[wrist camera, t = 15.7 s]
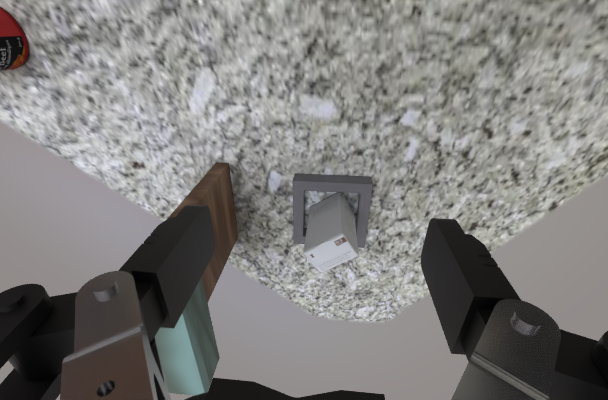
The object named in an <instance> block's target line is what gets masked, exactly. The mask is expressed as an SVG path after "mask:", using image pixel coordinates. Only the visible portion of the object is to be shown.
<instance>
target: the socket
mask: <svg viewBox="0 0 608 400" xmlns="http://www.w3.org/2000/svg"><path fill="white" fill-rule="evenodd" d="M372 186H373V184H372V179H371V177H361V176H339V175H316V174H295V175H294V179H293V216H294V243H296V244H305V238H306V231H307V228H304V208H305V190H306V191H327V192H348V193H359V198H358V208H357V217H356V226H355V227H356V235H357V244H358V247H361V248H364V246H365V239H366V231H367V224H368V216H369V209H370V201H371V193H372Z"/></svg>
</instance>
